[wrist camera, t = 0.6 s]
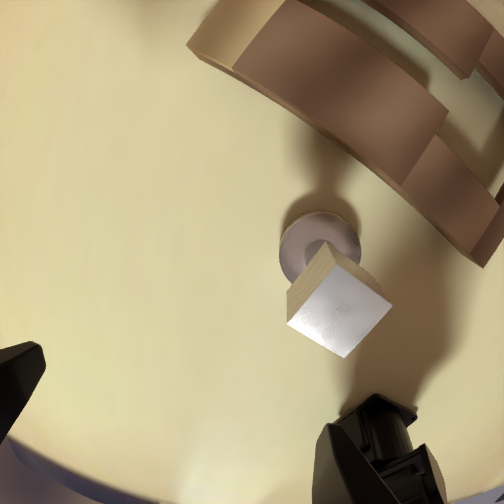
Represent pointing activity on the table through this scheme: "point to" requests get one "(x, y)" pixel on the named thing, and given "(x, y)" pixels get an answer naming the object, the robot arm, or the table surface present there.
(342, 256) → the headed peg
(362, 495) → the robot arm
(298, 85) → the keyhole board
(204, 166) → the table surface
